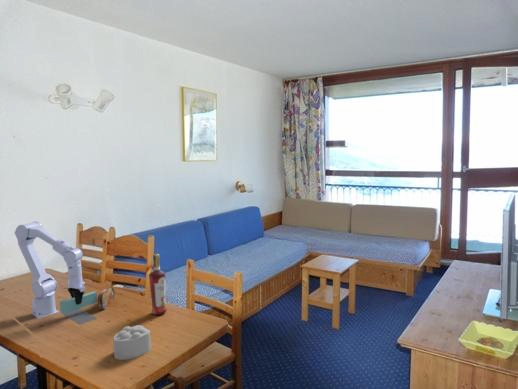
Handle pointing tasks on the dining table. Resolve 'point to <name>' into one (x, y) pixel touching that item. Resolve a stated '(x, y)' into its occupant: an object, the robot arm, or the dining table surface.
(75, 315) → the tool mat
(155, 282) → the liquor
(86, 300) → the teal rectangular block
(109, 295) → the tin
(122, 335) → the lumpy-topped squat cylinder
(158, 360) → the dining table surface
